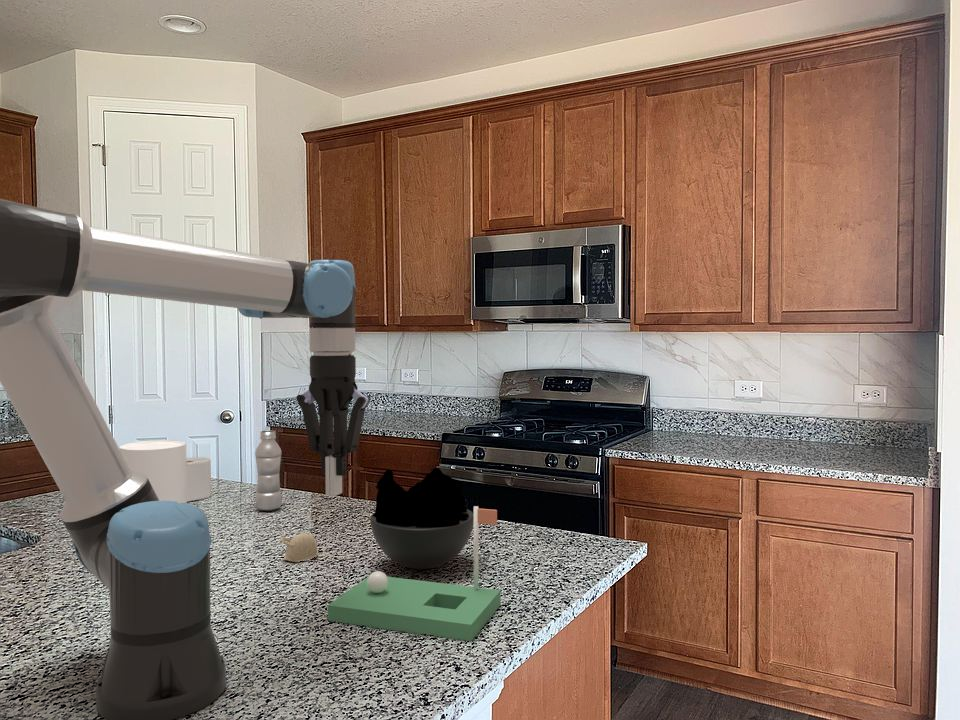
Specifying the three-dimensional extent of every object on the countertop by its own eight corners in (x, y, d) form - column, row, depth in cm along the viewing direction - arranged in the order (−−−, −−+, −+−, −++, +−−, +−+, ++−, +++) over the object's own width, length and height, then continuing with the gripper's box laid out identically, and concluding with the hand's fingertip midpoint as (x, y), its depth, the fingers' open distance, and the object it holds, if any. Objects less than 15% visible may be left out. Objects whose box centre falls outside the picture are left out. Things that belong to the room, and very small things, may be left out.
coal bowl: (493, 560, 146) (493, 466, 145) (436, 592, 129) (436, 485, 128) (411, 545, 157) (410, 457, 156) (348, 572, 139) (348, 474, 138)
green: (471, 641, 109) (471, 531, 108) (327, 620, 117) (326, 517, 116) (500, 604, 123) (500, 507, 122) (371, 588, 131) (370, 496, 130)
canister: (187, 538, 162) (185, 447, 161) (119, 545, 157) (116, 451, 156) (187, 522, 174) (185, 438, 173) (124, 528, 169) (122, 442, 168)
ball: (382, 597, 120) (382, 576, 120) (363, 594, 121) (363, 573, 121) (391, 590, 123) (391, 569, 123) (372, 587, 124) (372, 567, 124)
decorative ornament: (323, 558, 148) (322, 532, 148) (283, 566, 143) (283, 539, 143) (314, 553, 151) (313, 527, 151) (275, 561, 146) (274, 535, 146)
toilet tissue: (203, 490, 208) (202, 455, 208) (218, 498, 199) (218, 461, 198) (164, 496, 201) (163, 460, 201) (178, 504, 192) (177, 466, 192)
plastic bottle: (250, 512, 184) (248, 432, 183) (265, 505, 191) (264, 429, 190) (272, 514, 182) (271, 433, 181) (287, 507, 189) (286, 430, 188)
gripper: (378, 353, 124) (379, 492, 125) (310, 352, 128) (311, 486, 129) (357, 355, 117) (358, 502, 118) (285, 354, 121) (287, 496, 122)
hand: (334, 494), depth 124 cm, fingers closed
